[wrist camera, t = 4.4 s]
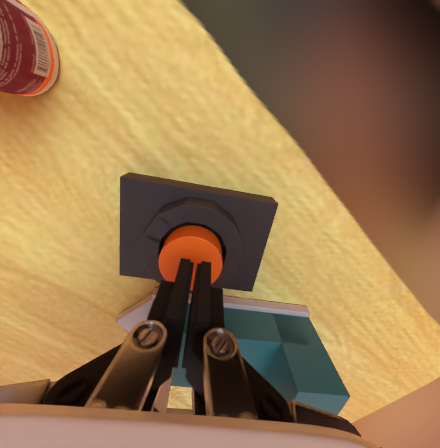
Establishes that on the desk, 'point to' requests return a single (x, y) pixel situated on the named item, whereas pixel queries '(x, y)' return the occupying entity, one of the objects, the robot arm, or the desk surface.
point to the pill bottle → (25, 51)
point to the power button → (190, 251)
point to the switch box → (192, 215)
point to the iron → (264, 351)
